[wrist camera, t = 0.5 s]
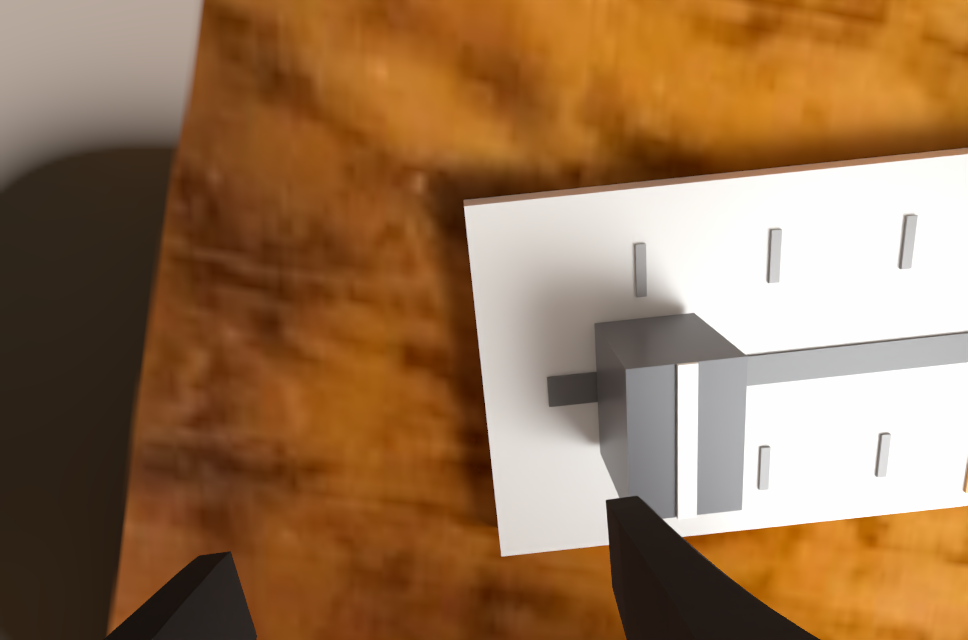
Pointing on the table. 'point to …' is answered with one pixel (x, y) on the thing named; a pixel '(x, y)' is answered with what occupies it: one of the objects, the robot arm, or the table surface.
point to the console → (735, 335)
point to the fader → (672, 413)
